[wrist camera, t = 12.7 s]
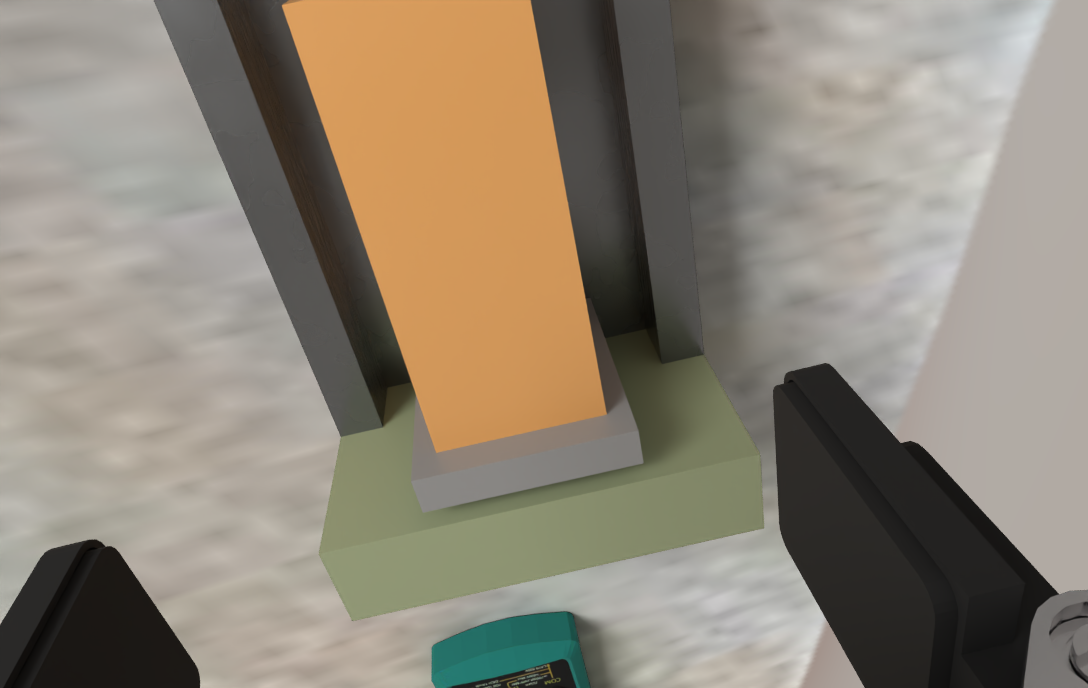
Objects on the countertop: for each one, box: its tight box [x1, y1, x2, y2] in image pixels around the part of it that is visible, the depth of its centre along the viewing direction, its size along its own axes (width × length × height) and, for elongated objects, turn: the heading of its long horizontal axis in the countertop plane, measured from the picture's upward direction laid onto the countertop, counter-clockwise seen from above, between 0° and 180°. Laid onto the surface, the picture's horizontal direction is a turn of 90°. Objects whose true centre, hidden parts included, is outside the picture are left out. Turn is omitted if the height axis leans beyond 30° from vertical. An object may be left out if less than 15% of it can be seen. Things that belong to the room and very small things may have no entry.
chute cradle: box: [154, 0, 764, 621], centre depth 21 cm, size 22×13×9 cm, turn 11°
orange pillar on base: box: [282, 0, 644, 513], centre depth 21 cm, size 13×6×8 cm, turn 11°
